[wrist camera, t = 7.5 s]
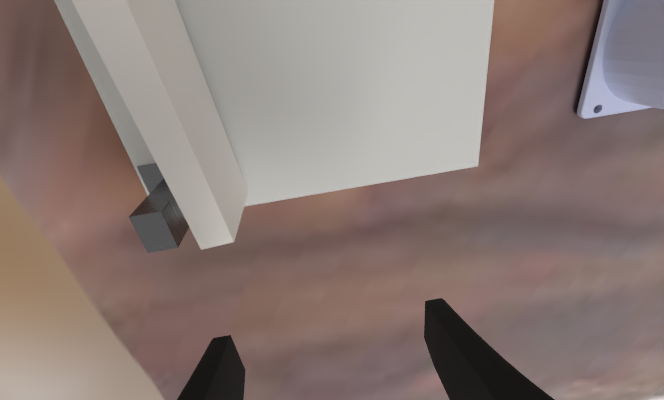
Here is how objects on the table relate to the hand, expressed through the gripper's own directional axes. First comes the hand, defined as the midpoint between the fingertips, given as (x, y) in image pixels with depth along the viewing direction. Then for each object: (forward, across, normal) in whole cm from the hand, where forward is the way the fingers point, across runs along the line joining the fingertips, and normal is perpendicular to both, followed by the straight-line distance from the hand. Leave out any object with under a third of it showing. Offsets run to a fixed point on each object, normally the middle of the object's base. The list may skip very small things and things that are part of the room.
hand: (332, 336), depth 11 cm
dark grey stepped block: (+10, +7, -3) cm, 13 cm away
